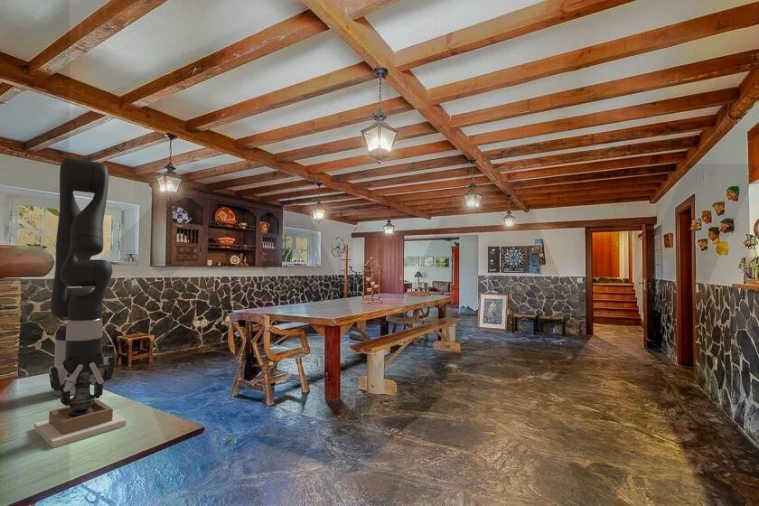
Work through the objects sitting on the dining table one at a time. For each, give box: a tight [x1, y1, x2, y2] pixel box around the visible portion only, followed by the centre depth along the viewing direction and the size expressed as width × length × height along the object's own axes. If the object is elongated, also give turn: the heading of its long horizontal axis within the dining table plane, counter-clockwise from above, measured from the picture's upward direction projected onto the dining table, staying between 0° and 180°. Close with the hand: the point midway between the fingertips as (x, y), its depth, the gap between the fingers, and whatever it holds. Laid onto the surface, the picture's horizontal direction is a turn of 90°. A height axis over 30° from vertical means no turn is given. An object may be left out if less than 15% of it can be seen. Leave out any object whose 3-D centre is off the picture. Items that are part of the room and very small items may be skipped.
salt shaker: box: [68, 372, 96, 417], centre depth 98 cm, size 6×6×12 cm
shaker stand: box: [33, 398, 127, 449], centre depth 98 cm, size 15×15×4 cm
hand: (81, 401), depth 98 cm, fingers closed on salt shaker, 6 cm apart
